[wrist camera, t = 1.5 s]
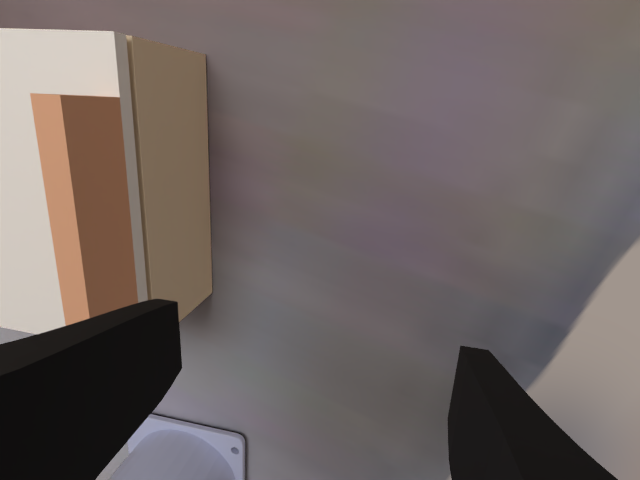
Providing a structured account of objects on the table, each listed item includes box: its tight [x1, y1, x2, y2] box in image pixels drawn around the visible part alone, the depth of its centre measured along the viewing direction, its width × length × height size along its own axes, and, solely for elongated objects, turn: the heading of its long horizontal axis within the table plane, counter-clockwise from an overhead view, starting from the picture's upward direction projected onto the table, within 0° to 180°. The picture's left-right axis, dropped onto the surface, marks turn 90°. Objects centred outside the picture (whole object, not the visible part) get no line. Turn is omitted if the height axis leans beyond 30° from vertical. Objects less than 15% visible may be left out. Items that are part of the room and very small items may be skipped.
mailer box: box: [126, 36, 212, 322], centre depth 20 cm, size 12×14×5 cm
